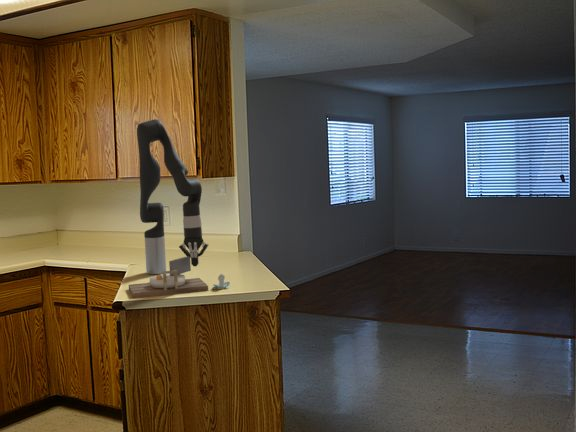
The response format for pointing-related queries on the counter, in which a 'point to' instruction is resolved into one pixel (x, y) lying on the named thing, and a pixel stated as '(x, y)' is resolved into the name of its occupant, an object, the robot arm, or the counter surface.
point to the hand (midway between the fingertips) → (195, 266)
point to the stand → (189, 286)
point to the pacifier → (221, 283)
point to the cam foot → (177, 264)
